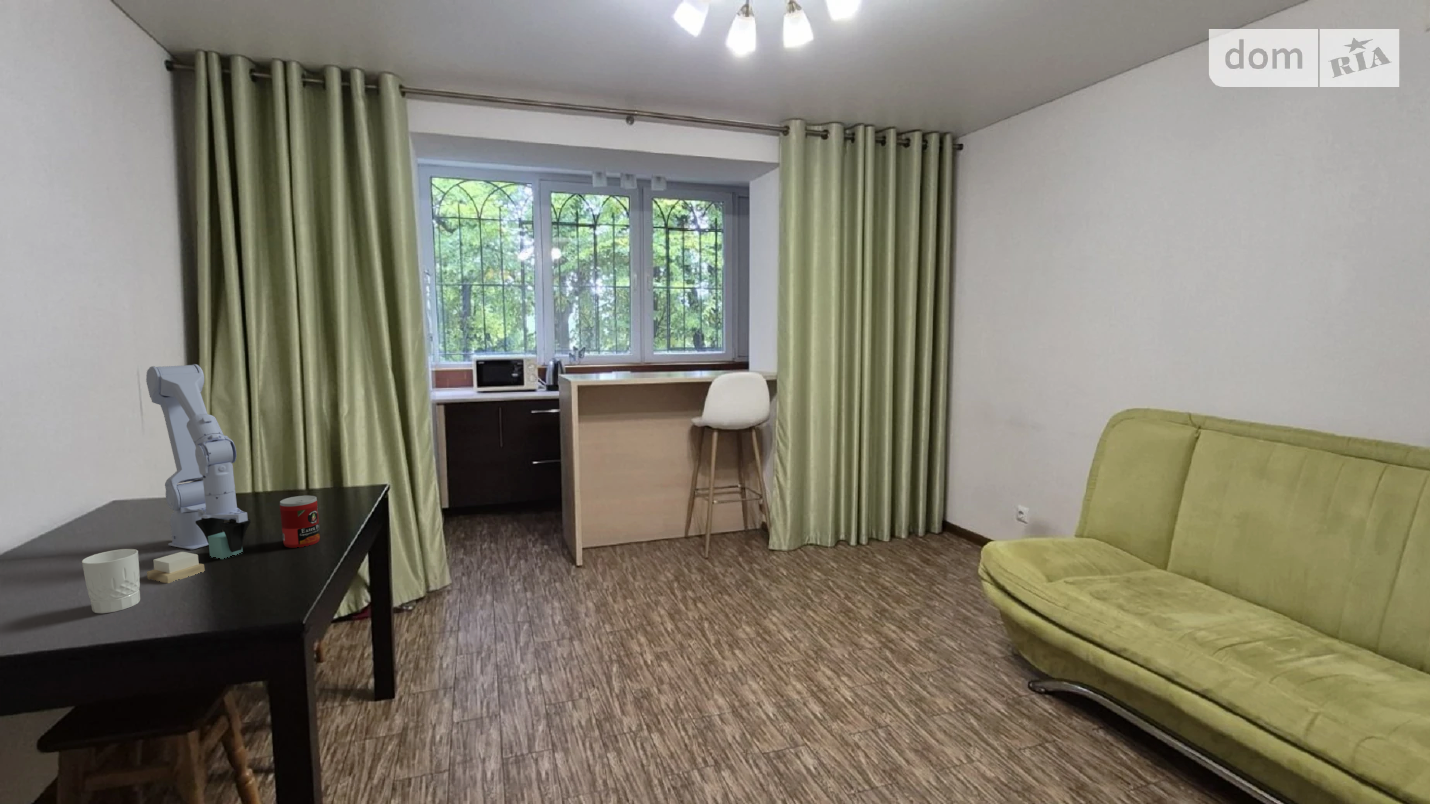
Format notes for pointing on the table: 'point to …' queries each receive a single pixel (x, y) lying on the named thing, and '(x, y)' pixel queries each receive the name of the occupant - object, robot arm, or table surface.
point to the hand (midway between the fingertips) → (226, 548)
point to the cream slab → (175, 562)
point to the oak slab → (175, 574)
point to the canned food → (299, 521)
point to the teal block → (220, 546)
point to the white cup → (112, 580)
